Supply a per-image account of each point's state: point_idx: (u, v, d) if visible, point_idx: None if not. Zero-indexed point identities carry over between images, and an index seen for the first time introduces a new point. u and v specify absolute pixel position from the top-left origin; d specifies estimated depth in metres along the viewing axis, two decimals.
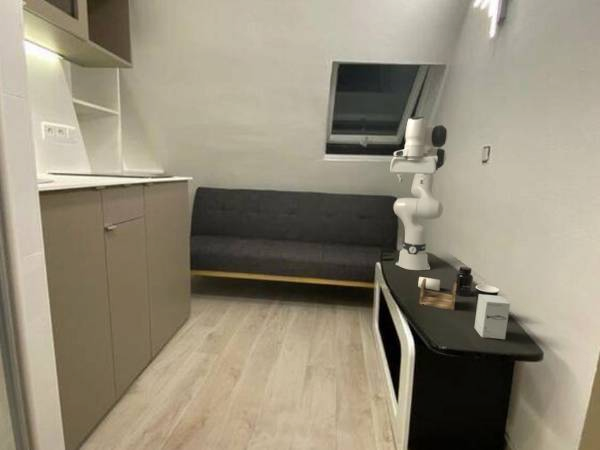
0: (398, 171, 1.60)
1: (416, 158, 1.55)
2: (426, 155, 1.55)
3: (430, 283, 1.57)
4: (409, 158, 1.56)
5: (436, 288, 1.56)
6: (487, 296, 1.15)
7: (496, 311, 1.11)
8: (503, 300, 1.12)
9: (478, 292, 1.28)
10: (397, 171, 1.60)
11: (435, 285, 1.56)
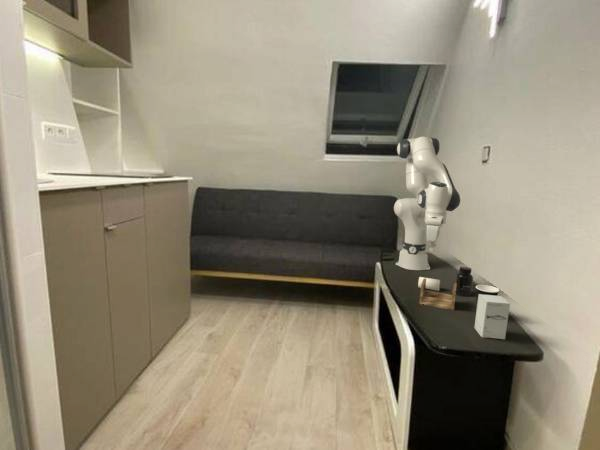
0: (436, 240, 1.49)
1: None
2: None
3: (430, 283, 1.56)
4: (441, 225, 1.52)
5: (436, 288, 1.56)
6: (487, 296, 1.15)
7: (496, 311, 1.11)
8: (503, 300, 1.12)
9: (478, 292, 1.28)
10: (436, 240, 1.49)
11: (435, 285, 1.55)
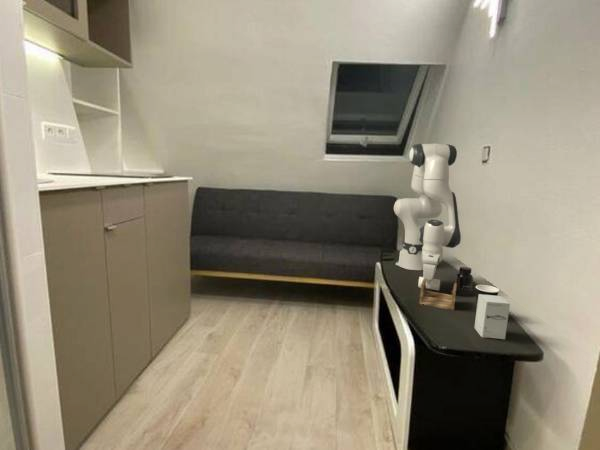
0: None
1: None
2: None
3: None
4: (437, 262, 1.55)
5: (436, 288, 1.56)
6: (487, 296, 1.15)
7: (496, 311, 1.11)
8: (503, 300, 1.12)
9: (478, 292, 1.28)
10: None
11: (435, 285, 1.56)
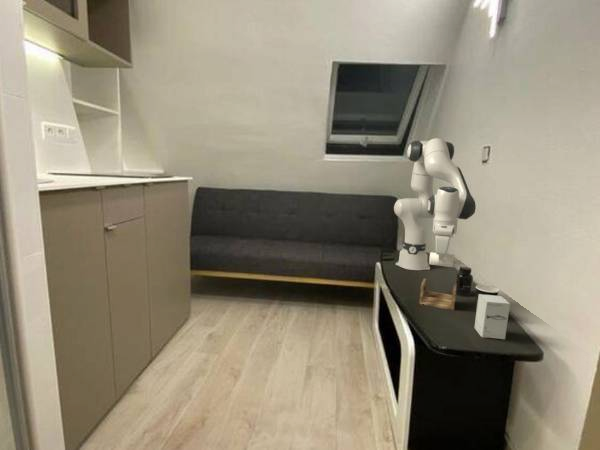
0: None
1: None
2: None
3: None
4: (451, 235, 1.35)
5: (450, 264, 1.36)
6: (487, 296, 1.15)
7: (496, 311, 1.11)
8: (503, 300, 1.12)
9: (478, 292, 1.28)
10: None
11: (449, 261, 1.36)
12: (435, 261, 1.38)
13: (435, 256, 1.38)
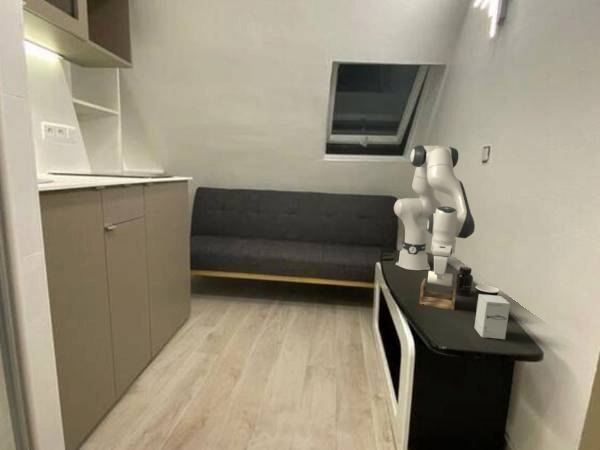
0: None
1: None
2: None
3: None
4: None
5: (448, 283, 1.37)
6: (487, 296, 1.15)
7: (496, 311, 1.11)
8: (503, 300, 1.12)
9: (478, 292, 1.28)
10: None
11: (447, 280, 1.37)
12: (433, 280, 1.39)
13: (433, 275, 1.39)
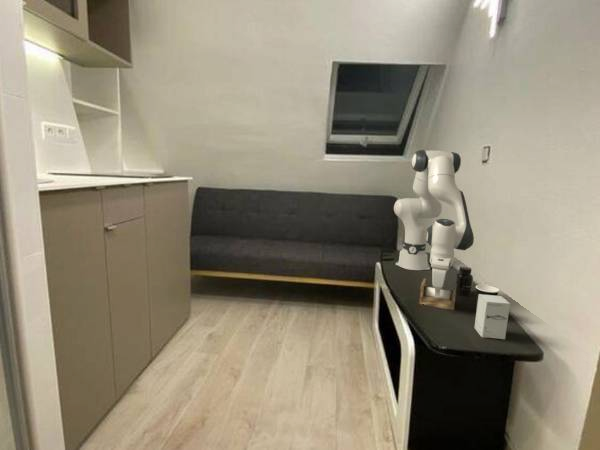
0: None
1: None
2: None
3: None
4: None
5: None
6: (487, 296, 1.15)
7: (496, 311, 1.11)
8: (503, 300, 1.12)
9: (478, 292, 1.28)
10: None
11: (445, 298, 1.38)
12: None
13: (431, 292, 1.40)
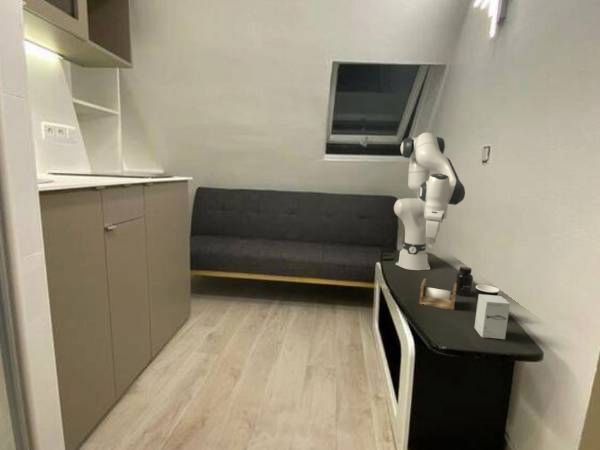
0: (436, 236, 1.40)
1: None
2: None
3: (439, 296, 1.39)
4: None
5: None
6: (487, 296, 1.15)
7: (496, 311, 1.11)
8: (503, 300, 1.12)
9: (478, 292, 1.28)
10: (436, 236, 1.40)
11: (445, 299, 1.38)
12: None
13: (431, 293, 1.40)
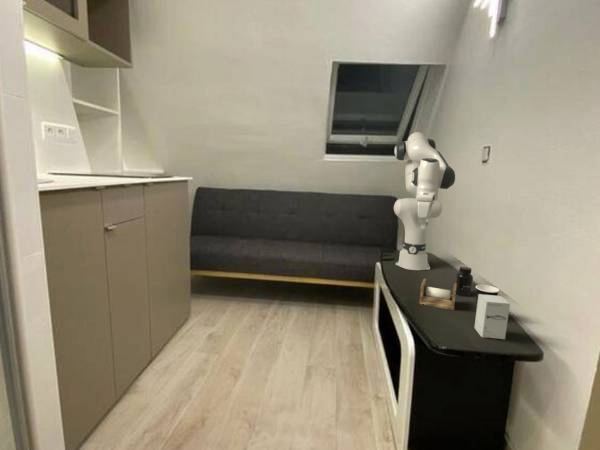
0: (428, 217, 1.46)
1: None
2: None
3: (439, 294, 1.39)
4: (432, 202, 1.49)
5: None
6: (487, 296, 1.15)
7: (496, 311, 1.11)
8: (503, 300, 1.12)
9: (478, 292, 1.28)
10: None
11: (445, 296, 1.38)
12: (431, 296, 1.41)
13: (431, 291, 1.41)
